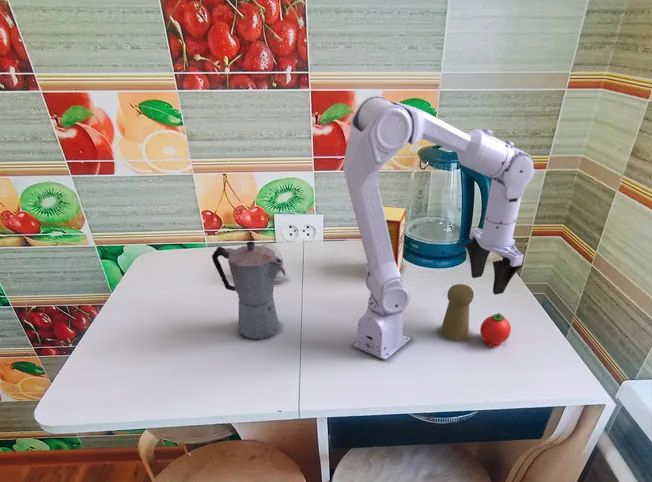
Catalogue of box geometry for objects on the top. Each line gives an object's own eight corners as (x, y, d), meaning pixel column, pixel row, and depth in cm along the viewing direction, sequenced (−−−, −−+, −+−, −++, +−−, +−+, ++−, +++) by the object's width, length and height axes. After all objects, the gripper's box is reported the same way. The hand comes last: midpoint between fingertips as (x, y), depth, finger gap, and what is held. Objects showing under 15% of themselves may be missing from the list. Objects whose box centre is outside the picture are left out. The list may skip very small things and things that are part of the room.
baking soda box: (378, 263, 127) (380, 204, 117) (402, 266, 126) (406, 206, 115) (371, 279, 120) (372, 217, 110) (396, 282, 119) (400, 219, 108)
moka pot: (284, 345, 97) (273, 254, 84) (215, 337, 99) (195, 248, 87) (297, 321, 104) (289, 234, 91) (232, 314, 107) (216, 229, 94)
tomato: (500, 353, 94) (507, 325, 90) (473, 343, 97) (478, 315, 93) (511, 340, 98) (519, 312, 94) (485, 330, 101) (491, 303, 97)
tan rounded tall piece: (467, 326, 102) (475, 280, 95) (469, 341, 98) (478, 295, 91) (439, 324, 103) (445, 279, 96) (440, 340, 98) (447, 293, 91)
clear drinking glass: (242, 278, 120) (238, 250, 115) (263, 266, 126) (260, 239, 121) (273, 289, 116) (270, 261, 111) (294, 277, 121) (292, 249, 116)
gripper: (543, 229, 83) (525, 297, 91) (495, 203, 93) (483, 266, 102) (511, 235, 81) (495, 303, 89) (465, 208, 91) (455, 272, 100)
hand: (487, 284), depth 95 cm, fingers open, 7 cm apart
